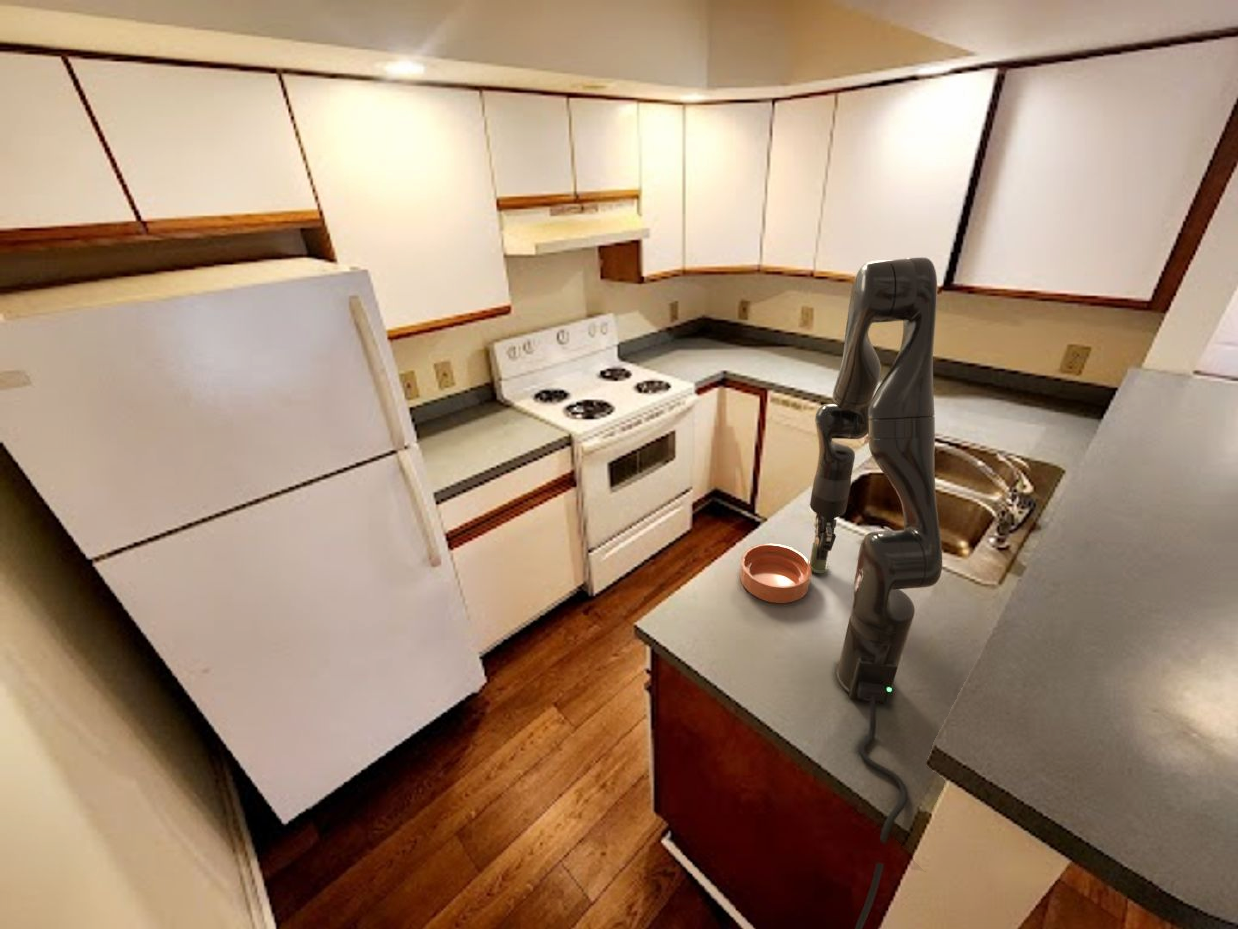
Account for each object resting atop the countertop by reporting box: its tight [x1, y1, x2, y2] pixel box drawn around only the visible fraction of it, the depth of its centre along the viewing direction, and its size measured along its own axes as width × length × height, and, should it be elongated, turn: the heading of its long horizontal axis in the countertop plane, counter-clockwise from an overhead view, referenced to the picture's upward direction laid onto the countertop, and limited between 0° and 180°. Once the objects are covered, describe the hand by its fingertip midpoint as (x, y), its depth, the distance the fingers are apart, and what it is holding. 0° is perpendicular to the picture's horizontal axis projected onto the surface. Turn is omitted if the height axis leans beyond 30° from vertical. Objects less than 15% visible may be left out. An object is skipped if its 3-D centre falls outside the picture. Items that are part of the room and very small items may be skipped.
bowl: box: [740, 543, 813, 604], centre depth 122 cm, size 15×15×5 cm
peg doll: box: [808, 537, 829, 574], centre depth 124 cm, size 4×4×9 cm
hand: (819, 553), depth 124 cm, fingers closed on peg doll, 3 cm apart
